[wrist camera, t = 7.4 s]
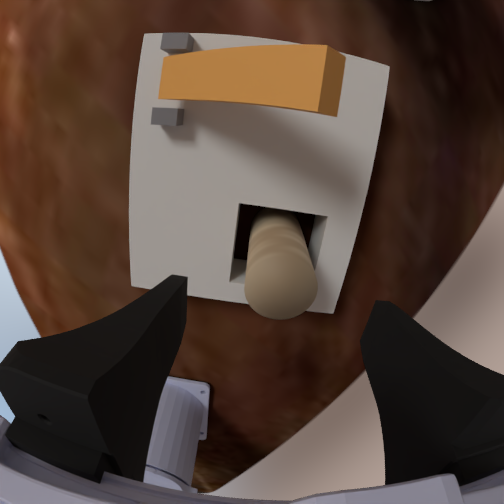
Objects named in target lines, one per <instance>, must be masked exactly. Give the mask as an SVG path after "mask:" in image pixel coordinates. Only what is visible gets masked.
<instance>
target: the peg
mask: <svg viewBox="0 0 504 504" xmlns="http://www.w3.org/2000/svg"><path fill="white" fill-rule="evenodd" d="M317 291H318V283H317V279H316V275H315V272H314V269H313V265H312V262H311V259H310V255H309V252H308V249H307V246H306V242H305V239H304V236H303V233H302V230H301V226H300V223H299V220H298V218H297V217H296V215H295V214H294V213H293V212H292V211H290V210H284V209H277V208H270V207H266V208H264V209H262V210H260V211H259V212H258V213H257V214H256V215H255V217H254V218H253V220H252V223H251V230H250V239H249V248H248V258H247V267H246V277H245V286H244V292H245V297H246V300H247V302H248V303H249V305H250V306H251V308H252V309H253V310H254V311H256V312H257V313H259V314H260V315H262V316H264V317H267V318H271V319H289V318H293V317H296V316H298V315H300V314H302V313H303V312H305V311H306V310H307V309H308V308H309V307H310V306H311V305H312V303H313V302H314V300H315V298H316V295H317Z"/></svg>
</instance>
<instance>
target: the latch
mask: <svg viewBox="0 0 504 504" xmlns="http://www.w3.org/2000/svg"><path fill="white" fill-rule="evenodd" d="M345 62H346V57H345V56H344V55H342V54H341V53H339V52H338V51H336V50H334V49H333V48H331V47H330V46H328V45H300V44H292V45H258V46H243V47H231V48H221V49H212V50H204V51H197V52H190V53H184V54H178V55H172V56H167V57H164V58H163V65H162V72H161V80H160V87H159V96H158V99H168V100H186V101H210V102H225V103H238V104H249V105H259V106H268V107H276V108H284V109H291V110H298V111H304V112H311V113H317V114H322V115H328V116H333V117H337V115H338V109H339V102H340V96H341V90H342V83H343V76H344V69H345Z"/></svg>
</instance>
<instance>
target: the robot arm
mask: <svg viewBox="0 0 504 504" xmlns="http://www.w3.org/2000/svg"><path fill="white" fill-rule="evenodd" d="M187 285H188V277H186V276H180V275H173V274H172V275H170V276H169V277H167V278H166V279H165V280H163V281H162V282H160V283H159V284H158V285H156V286H155V287H154V288H152V289H151V290H150V291H148V292H147V293H145V294H144V295H142V296H141V297H140V298H138V299H136V300H135V301H133V302H132V303H130V304H128V305H127V306H125V307H124V308H122V309H120V310H118V311H116V312H115V313H113V314H111V315H109V316H106V317H104V318H102V319H100V320H98V321H95V322H93V323H90V324H88V325H85V326H82V327H80V328H77V329H74V330H71V331H67V332H64V333H60V334H56V335H52V336H48V337H43V338H37V339H30V340H24V341H18V342H17V343H16V344H15V346H14V347H13V348H12V349H11V351H10V352H9V353H8V354H7V356H6V357H5V358H4V360H3V361H2V362H1V363H0V392H1V393H2V395H3V397H4V399H5V400H6V402H7V404H8V405H9V407H10V409H11V410H12V412H13V413H14V415H15V418H14V420H13V422H12V423H11V424H10V423H9V422H8V421H7V420H6V419H5V418H3V417H2V416H1V415H0V504H504V375H502V374H499V373H497V372H495V371H492V370H490V369H488V368H486V367H484V366H482V365H479V364H478V363H475V362H474V361H472V360H470V359H468V358H466V357H465V356H463V355H461V354H460V353H458V352H457V351H455V350H453V349H452V348H450V347H449V346H447V345H446V344H444V343H443V342H442V341H441V340H439V339H438V338H436V337H435V336H434V335H432V334H431V333H430V332H429V331H427V330H426V329H425V328H423V327H422V326H421V325H420V324H419V323H417V322H416V321H415V320H414V319H412V318H411V317H410V316H409V315H408V314H406V313H405V312H404V311H402V310H401V309H400V308H398V307H397V306H396V305H394V304H393V303H391V302H389V301H379V300H376V301H375V304H374V307H373V309H372V312H371V315H370V317H369V320H368V322H367V325H366V327H365V330H364V332H363V335H362V337H361V340H360V344H361V351H362V356H363V362H364V365H365V368H366V372H367V375H368V378H369V381H370V384H371V387H372V390H373V394H374V397H375V400H376V403H377V407H378V410H379V414H380V421H381V427H382V434H383V442H384V453H385V485H383V486H376V487H369V488H360V489H351V490H341V491H334V492H327V493H320V494H314V495H311V496H307V497H303V498H299V499H296V500H293V501H276V500H275V501H273V500H253V499H239V498H228V497H219V496H212V495H204V494H198V493H197V491H198V490H197V489H196V488H192V487H191V482H192V476H193V470H194V464H195V458H196V452H197V447H198V441H199V440H205V439H206V437H207V423H208V409H209V394H210V385H209V384H207V383H205V382H199V381H192V380H187V379H181V378H175V377H170V376H168V375H169V373H170V370H171V367H172V365H173V362H174V360H175V357H176V355H177V352H178V350H179V347H180V344H181V341H182V337H183V333H184V329H185V325H186V315H187Z"/></svg>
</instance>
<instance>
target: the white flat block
mask: <svg viewBox="0 0 504 504" xmlns="http://www.w3.org/2000/svg"><path fill="white" fill-rule="evenodd" d="M292 44H298V43H292V42H286V41H279V40H272V39H265V38H257V37H248V36H237V35H224V34H205V33H153V34H144V39H143V45H142V51H141V57H140V64H139V71H138V79H137V87H136V96H135V105H134V115H133V127H132V141H131V158H130V185H129V241H130V268H131V286H135V287H141V288H147V289H152V288H154V287H155V286H156V285H158V284H159V283H160V282H162V281H163V280H165V279H166V278H167V277H169V276H170V275H172V274H173V275H180V276H186V277H188V285H187V295H190V296H196V297H203V298H209V299H216V300H223V301H230V302H238V303H245V304H249V303H248V302H247V300H246V297H245V292H244V286H245V277H246V267H247V260H242V259H234V252H235V244H236V236H237V228H238V221H239V213H240V205H241V203H242V204H249V205H256V206H263V207H270V208H277V209H284V210H290V211H297V212H303V213H310V214H315V219H314V224H313V228H312V233H311V238H310V242H309V247H308V252H309V255H310V259H311V262H312V265H313V269H314V272H315V275H316V279H317V283H318V291H317V295H316V298H315V300H314V302H313V303H312V305H311V306H310V307H309V308H308V309H307V310H306V311H312V312H322V313H332V314H333V313H334V310H335V306H336V303H337V300H338V297H339V294H340V291H341V287H342V284H343V281H344V277H345V274H346V271H347V267H348V264H349V260H350V257H351V253H352V250H353V246H354V242H355V239H356V235H357V231H358V227H359V223H360V219H361V215H362V211H363V207H364V203H365V199H366V195H367V190H368V186H369V182H370V177H371V173H372V168H373V163H374V158H375V153H376V148H377V143H378V138H379V133H380V127H381V121H382V115H383V109H384V103H385V97H386V90H387V83H388V76H389V68H390V67H389V66H386V65H383V64H380V63H377V62H373V61H370V60H367V59H363V58H360V57H356V56H352V55H348V54H344V53H341V54H342V55H344V56H345V57H346V62H345V69H344V76H343V83H342V90H341V96H340V102H339V109H338V115H337V117H333V116H328V115H322V114H317V113H311V112H304V111H298V110H291V109H284V108H276V107H268V106H259V105H249V104H238V103H225V102H210V101H186V100H168V99H158V96H159V87H160V80H161V72H162V65H163V58H164V57H167V56H172V55H178V54H184V53H190V52H197V51H204V50H212V49H221V48H231V47H243V46H258V45H292ZM300 45H303V44H300ZM339 53H340V52H339Z"/></svg>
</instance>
